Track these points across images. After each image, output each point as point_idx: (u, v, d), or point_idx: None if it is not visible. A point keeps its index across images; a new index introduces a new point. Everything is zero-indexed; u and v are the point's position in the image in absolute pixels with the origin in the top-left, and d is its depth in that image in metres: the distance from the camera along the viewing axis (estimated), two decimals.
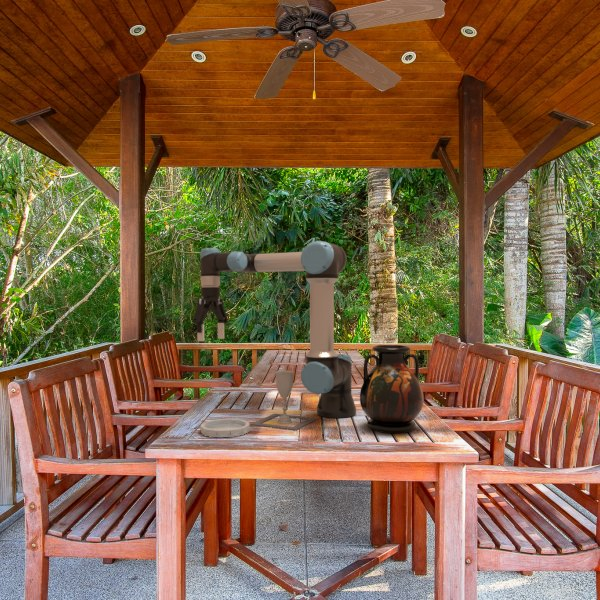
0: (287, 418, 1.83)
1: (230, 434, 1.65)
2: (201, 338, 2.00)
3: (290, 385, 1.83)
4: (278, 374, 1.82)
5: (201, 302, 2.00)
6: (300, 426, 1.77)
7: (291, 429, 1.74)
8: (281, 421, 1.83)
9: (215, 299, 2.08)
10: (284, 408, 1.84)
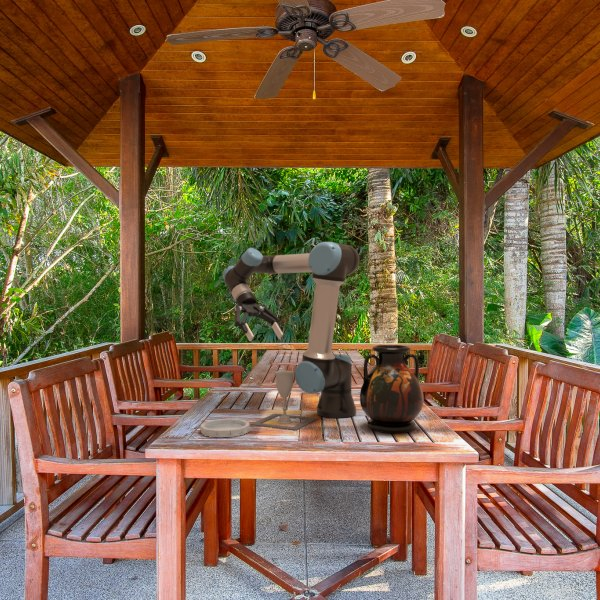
0: (287, 418, 1.83)
1: (230, 434, 1.65)
2: (250, 335, 1.89)
3: (290, 385, 1.83)
4: (278, 374, 1.82)
5: (236, 308, 1.96)
6: (300, 426, 1.77)
7: (291, 429, 1.74)
8: (281, 421, 1.83)
9: (254, 304, 2.02)
10: (284, 408, 1.84)
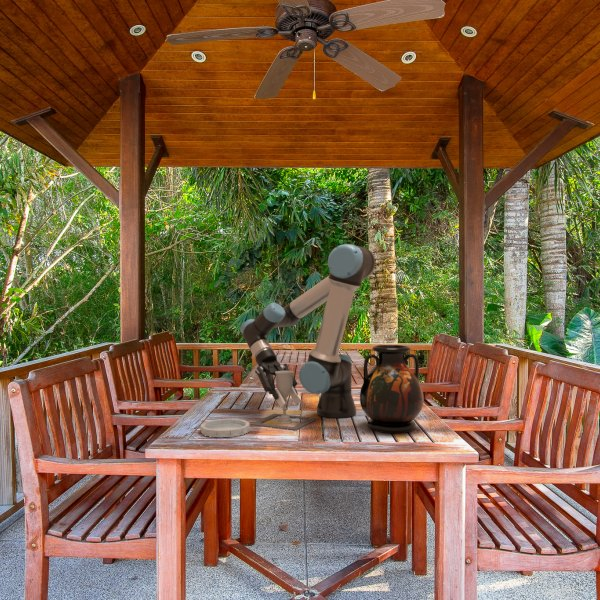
0: (287, 418, 1.83)
1: (230, 434, 1.65)
2: (281, 402, 1.80)
3: (290, 385, 1.83)
4: (278, 374, 1.82)
5: (258, 370, 1.86)
6: (300, 426, 1.77)
7: (291, 429, 1.74)
8: (281, 421, 1.83)
9: (274, 361, 1.93)
10: (284, 408, 1.84)
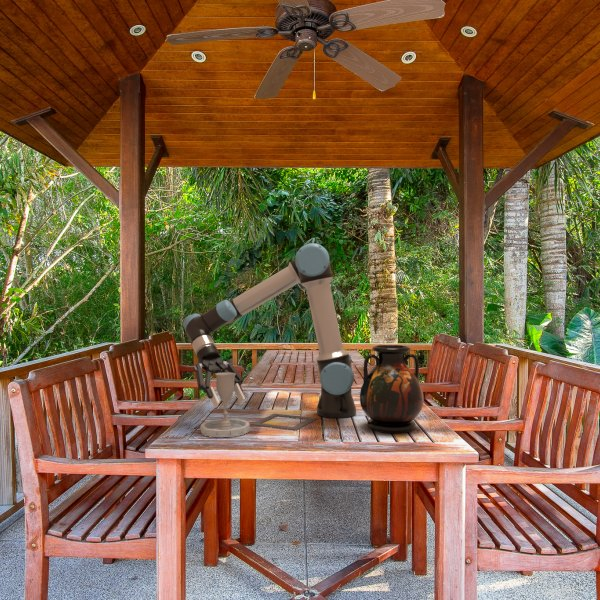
0: (227, 423, 1.71)
1: (230, 434, 1.65)
2: (215, 401, 1.66)
3: (231, 388, 1.71)
4: (218, 376, 1.70)
5: (196, 367, 1.73)
6: (300, 426, 1.77)
7: (291, 429, 1.74)
8: (221, 426, 1.70)
9: (217, 359, 1.80)
10: (224, 412, 1.72)
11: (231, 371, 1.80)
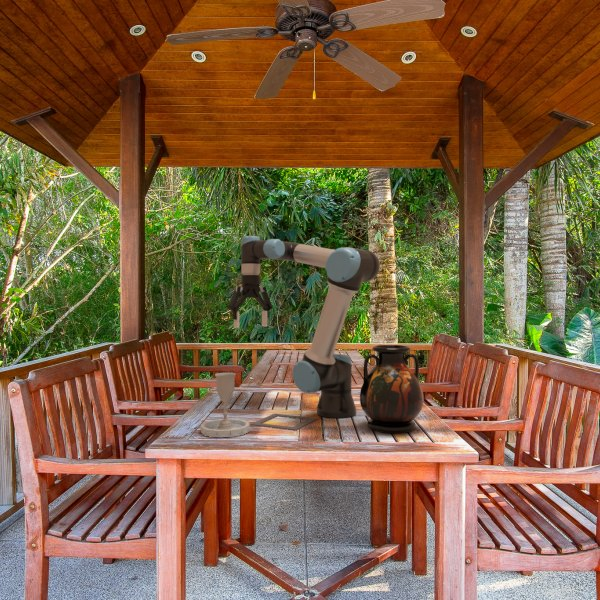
0: (227, 424, 1.71)
1: (230, 434, 1.65)
2: (236, 325, 2.03)
3: (231, 388, 1.70)
4: (218, 376, 1.69)
5: (237, 289, 2.03)
6: (300, 426, 1.77)
7: (291, 429, 1.74)
8: (221, 426, 1.70)
9: (256, 287, 2.08)
10: (224, 413, 1.72)
11: (264, 297, 2.12)
